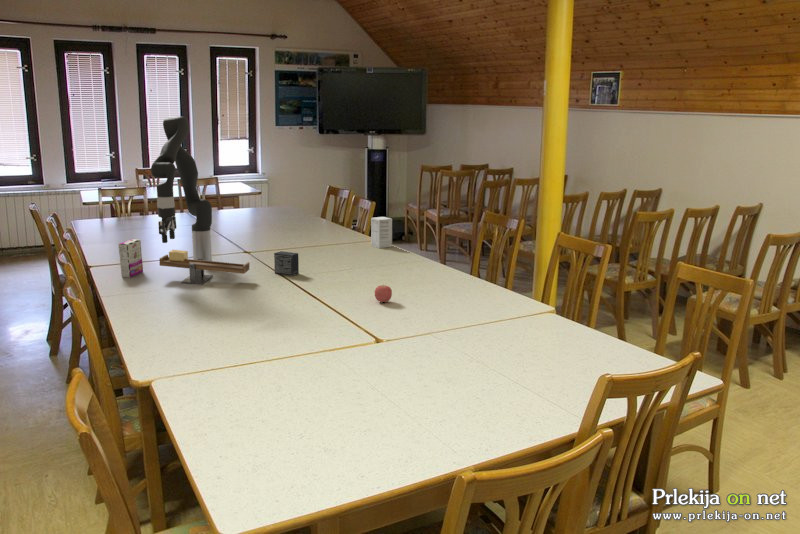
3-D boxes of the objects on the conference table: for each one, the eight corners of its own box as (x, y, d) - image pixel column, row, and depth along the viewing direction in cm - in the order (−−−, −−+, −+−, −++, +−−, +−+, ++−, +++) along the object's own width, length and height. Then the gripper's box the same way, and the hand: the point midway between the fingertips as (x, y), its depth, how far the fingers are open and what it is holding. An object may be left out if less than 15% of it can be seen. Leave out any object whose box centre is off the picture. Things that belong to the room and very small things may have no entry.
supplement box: (392, 246, 400) (392, 218, 396) (379, 248, 395) (379, 219, 391) (383, 243, 408) (384, 216, 404) (370, 245, 403) (370, 217, 399)
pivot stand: (192, 276, 326) (191, 257, 324) (212, 276, 325) (212, 258, 323) (181, 283, 313) (180, 264, 310) (202, 284, 312) (201, 265, 310)
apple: (375, 299, 295) (375, 281, 293) (392, 299, 295) (392, 282, 293) (373, 304, 288) (374, 286, 286) (391, 304, 287) (391, 286, 285)
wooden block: (173, 249, 319) (187, 251, 319) (173, 259, 320) (187, 261, 320) (168, 251, 314) (183, 253, 314) (168, 262, 316) (183, 263, 315)
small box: (299, 273, 335) (299, 252, 333) (292, 276, 330) (291, 255, 327) (281, 270, 340) (281, 250, 337) (274, 273, 334) (273, 252, 331)
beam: (166, 261, 322) (166, 254, 321) (249, 269, 320) (249, 262, 319) (159, 265, 315) (159, 258, 314) (244, 273, 312) (244, 266, 311)
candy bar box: (134, 271, 332) (131, 238, 328) (143, 272, 331) (141, 239, 327) (120, 277, 322) (117, 243, 318) (130, 278, 321) (127, 243, 317)
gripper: (164, 203, 319) (167, 237, 323) (151, 208, 305) (154, 243, 309) (180, 203, 318) (182, 237, 322) (167, 208, 304) (170, 244, 308)
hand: (168, 240), depth 316 cm, fingers open, 8 cm apart
